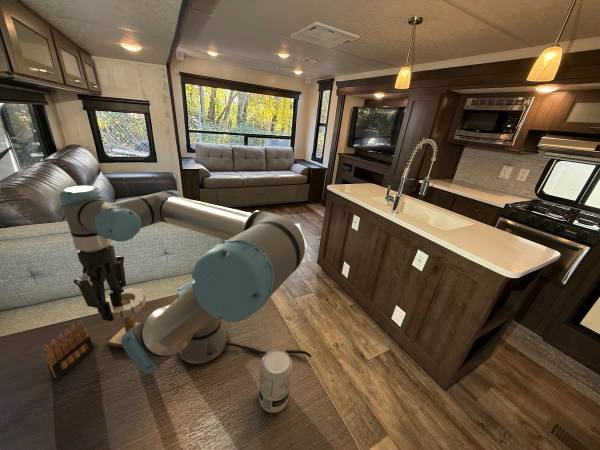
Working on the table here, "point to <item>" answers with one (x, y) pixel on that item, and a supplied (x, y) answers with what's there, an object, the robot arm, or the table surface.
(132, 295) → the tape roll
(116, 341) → the post stand
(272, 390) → the supplement can
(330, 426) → the table surface
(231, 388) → the table surface
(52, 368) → the ammunition clip
